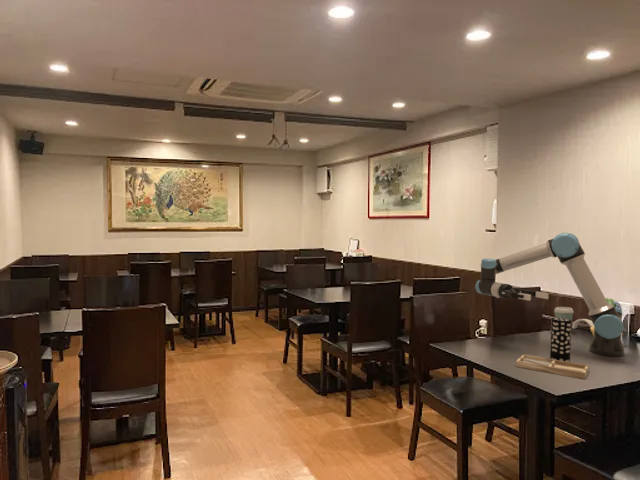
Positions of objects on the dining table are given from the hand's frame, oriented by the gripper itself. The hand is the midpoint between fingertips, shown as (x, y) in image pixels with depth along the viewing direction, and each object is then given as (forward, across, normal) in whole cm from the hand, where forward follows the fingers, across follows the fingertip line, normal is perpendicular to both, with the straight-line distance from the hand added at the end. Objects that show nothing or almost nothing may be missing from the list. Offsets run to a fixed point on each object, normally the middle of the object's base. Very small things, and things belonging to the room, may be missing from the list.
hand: (539, 297), depth 229 cm
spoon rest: (-19, -81, -29) cm, 88 cm away
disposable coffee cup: (-25, -61, -29) cm, 72 cm away
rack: (+16, +12, -29) cm, 35 cm away
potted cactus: (+2, -57, -29) cm, 64 cm away
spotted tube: (+12, -1, -29) cm, 31 cm away
